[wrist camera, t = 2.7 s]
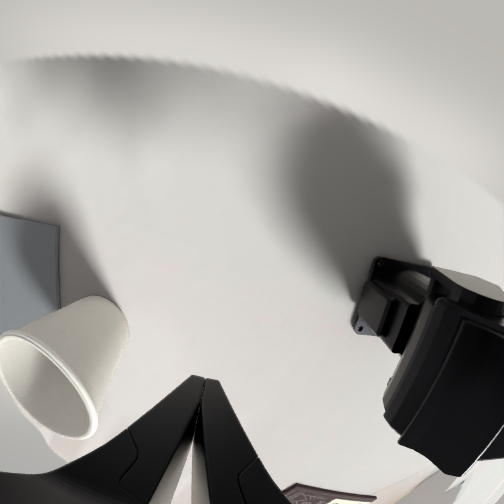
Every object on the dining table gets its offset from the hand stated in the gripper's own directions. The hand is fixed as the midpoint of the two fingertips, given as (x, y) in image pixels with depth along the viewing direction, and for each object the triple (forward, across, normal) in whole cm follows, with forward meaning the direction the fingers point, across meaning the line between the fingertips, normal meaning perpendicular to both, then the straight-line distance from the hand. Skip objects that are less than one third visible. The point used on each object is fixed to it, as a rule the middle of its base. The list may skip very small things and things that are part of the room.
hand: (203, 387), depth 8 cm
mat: (+13, +21, +8) cm, 26 cm away
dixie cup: (+13, +10, +8) cm, 18 cm away
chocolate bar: (+14, -20, +34) cm, 42 cm away
